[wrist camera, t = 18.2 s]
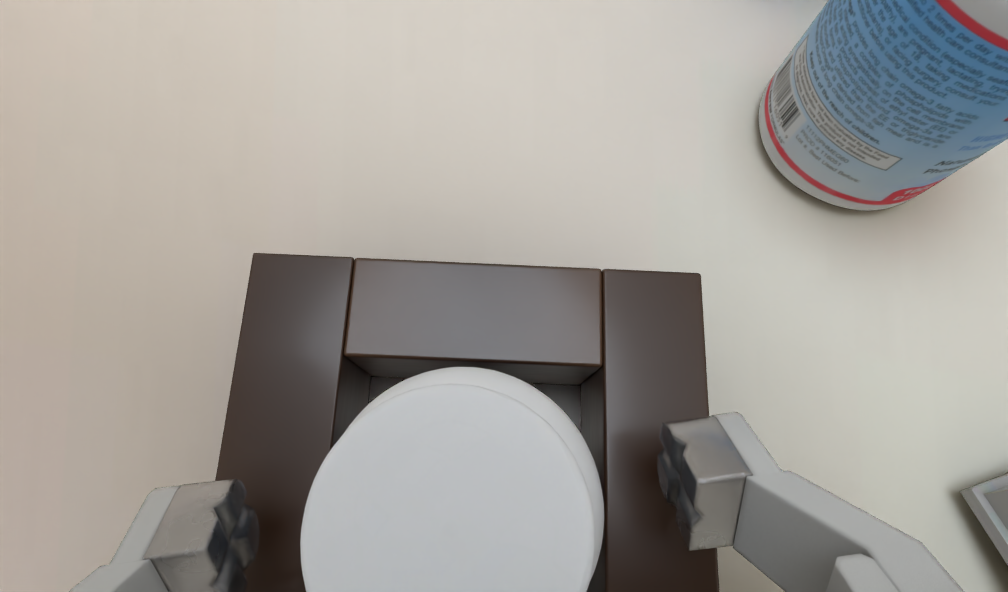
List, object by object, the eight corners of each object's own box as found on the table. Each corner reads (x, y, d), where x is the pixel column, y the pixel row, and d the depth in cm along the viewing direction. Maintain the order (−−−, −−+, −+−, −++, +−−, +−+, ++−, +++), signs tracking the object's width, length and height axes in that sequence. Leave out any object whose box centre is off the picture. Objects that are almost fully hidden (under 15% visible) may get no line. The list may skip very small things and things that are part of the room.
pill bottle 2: (896, 249, 19) (1466, -46, 8) (723, 162, 19) (1026, -220, 8) (953, 108, 20) (1496, -303, 9) (791, 32, 21) (1121, -433, 10)
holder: (236, 716, 15) (161, 793, 11) (297, 291, 18) (252, 251, 14) (677, 730, 15) (734, 810, 11) (661, 307, 18) (701, 272, 14)
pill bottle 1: (466, 360, 17) (446, 262, 9) (602, 482, 16) (727, 507, 8) (336, 500, 16) (165, 547, 7) (475, 639, 15) (459, 872, 7)
